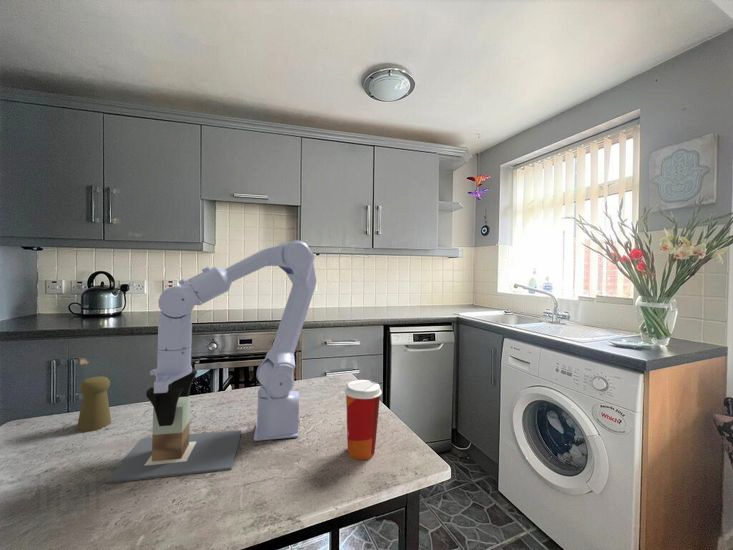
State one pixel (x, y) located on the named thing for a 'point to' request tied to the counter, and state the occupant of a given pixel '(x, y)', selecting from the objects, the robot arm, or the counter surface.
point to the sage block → (179, 421)
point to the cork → (94, 404)
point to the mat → (198, 458)
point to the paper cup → (362, 417)
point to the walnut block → (170, 445)
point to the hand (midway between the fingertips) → (173, 415)
